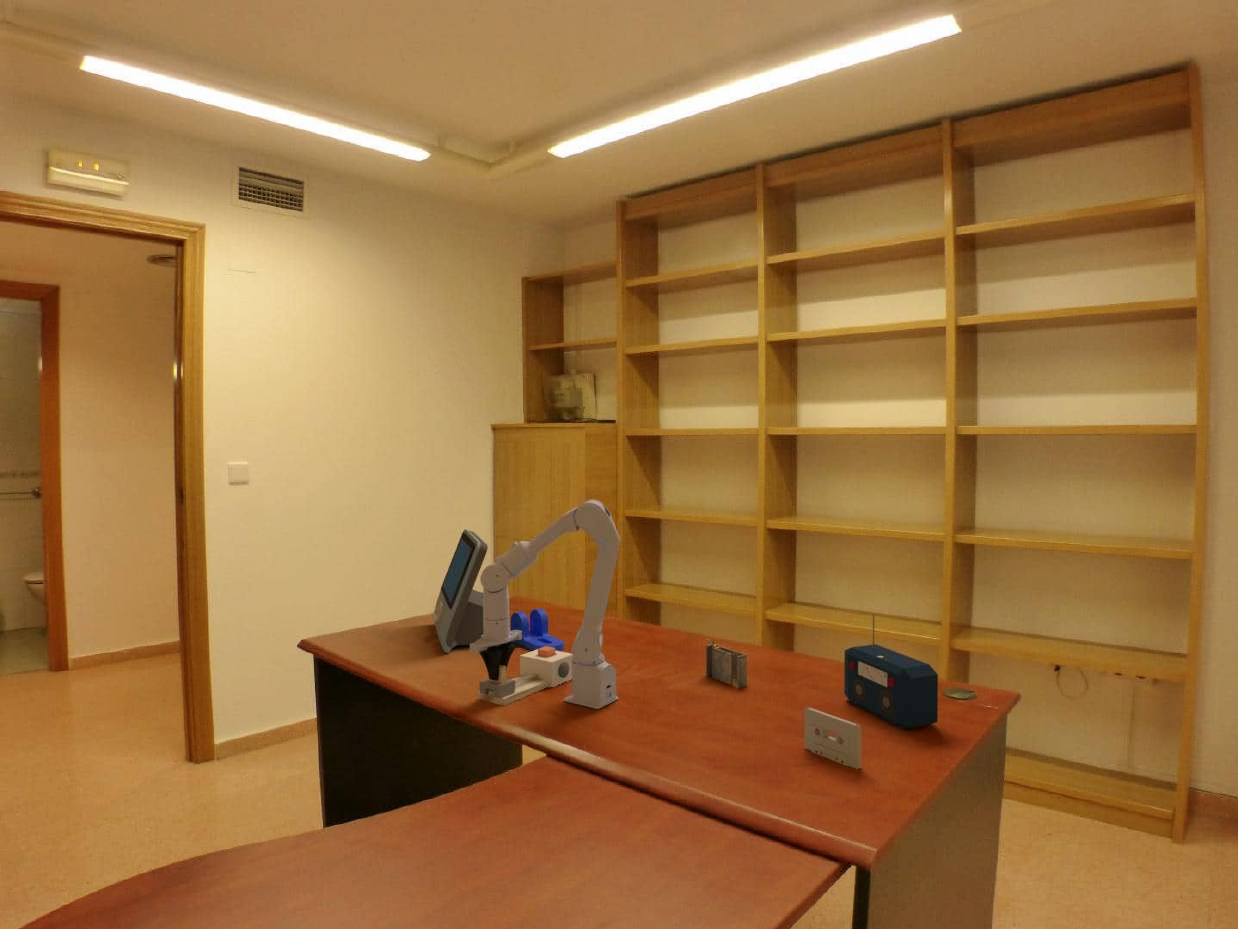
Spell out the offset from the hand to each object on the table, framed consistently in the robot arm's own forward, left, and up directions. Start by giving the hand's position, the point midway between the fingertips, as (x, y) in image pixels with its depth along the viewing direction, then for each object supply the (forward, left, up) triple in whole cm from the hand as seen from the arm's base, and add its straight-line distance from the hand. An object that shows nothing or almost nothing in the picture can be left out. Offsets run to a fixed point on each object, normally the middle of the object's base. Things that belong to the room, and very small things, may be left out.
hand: (497, 678), depth 172 cm
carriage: (0, 0, -3) cm, 3 cm away
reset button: (0, -17, +1) cm, 17 cm away
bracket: (+21, -39, -5) cm, 45 cm away
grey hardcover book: (-36, -40, -6) cm, 54 cm away
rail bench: (0, -5, -5) cm, 7 cm away
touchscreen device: (+46, -35, -5) cm, 58 cm away
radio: (-74, -39, -5) cm, 84 cm away
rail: (0, -6, -3) cm, 6 cm away
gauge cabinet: (0, -17, -5) cm, 18 cm away
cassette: (-72, -11, -5) cm, 73 cm away
